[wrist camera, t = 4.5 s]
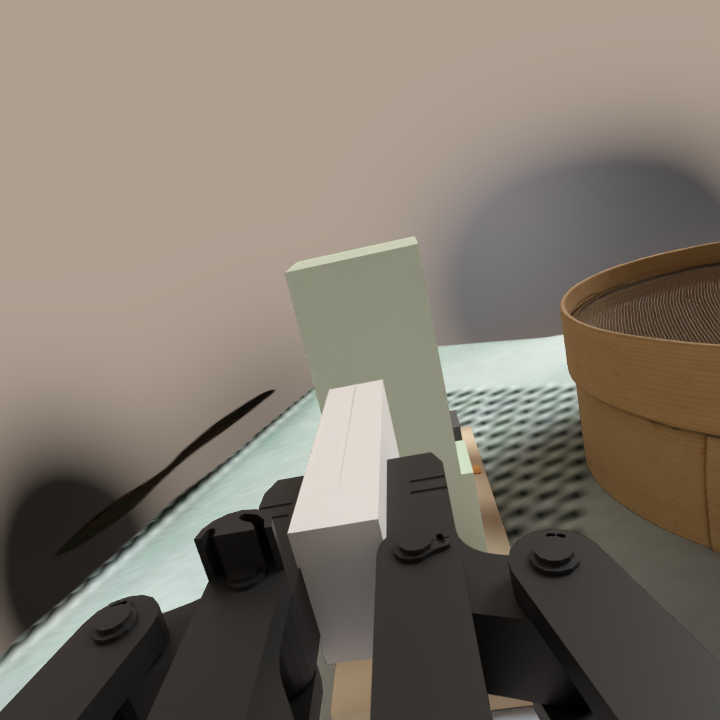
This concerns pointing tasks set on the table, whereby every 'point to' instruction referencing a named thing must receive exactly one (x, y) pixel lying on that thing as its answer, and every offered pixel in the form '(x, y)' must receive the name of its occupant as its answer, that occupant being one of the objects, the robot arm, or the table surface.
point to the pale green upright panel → (385, 354)
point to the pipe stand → (357, 675)
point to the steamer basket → (652, 386)
